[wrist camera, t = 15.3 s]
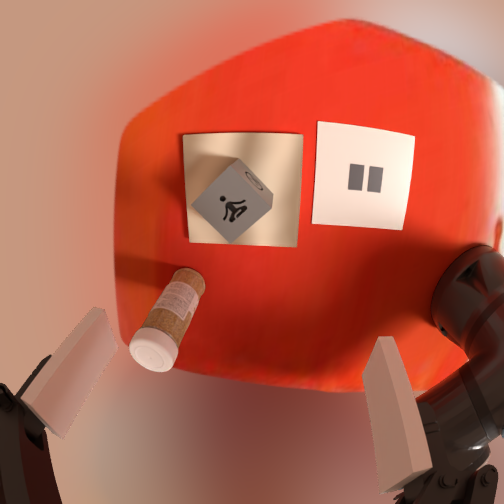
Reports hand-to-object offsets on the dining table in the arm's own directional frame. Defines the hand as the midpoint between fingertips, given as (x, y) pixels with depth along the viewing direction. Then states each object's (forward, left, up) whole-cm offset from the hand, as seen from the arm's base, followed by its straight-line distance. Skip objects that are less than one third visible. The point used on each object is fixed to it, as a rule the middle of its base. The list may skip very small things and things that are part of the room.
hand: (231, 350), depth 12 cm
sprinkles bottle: (+9, +9, -20) cm, 24 cm away
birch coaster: (+2, -3, -20) cm, 20 cm away
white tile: (-11, -5, -20) cm, 23 cm away
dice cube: (+2, -3, -19) cm, 19 cm away
